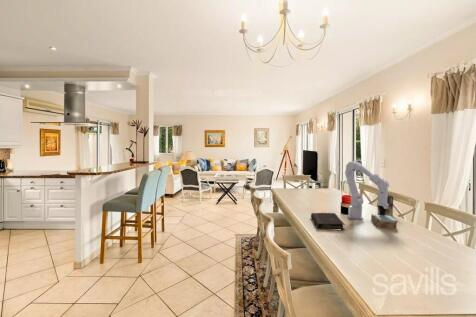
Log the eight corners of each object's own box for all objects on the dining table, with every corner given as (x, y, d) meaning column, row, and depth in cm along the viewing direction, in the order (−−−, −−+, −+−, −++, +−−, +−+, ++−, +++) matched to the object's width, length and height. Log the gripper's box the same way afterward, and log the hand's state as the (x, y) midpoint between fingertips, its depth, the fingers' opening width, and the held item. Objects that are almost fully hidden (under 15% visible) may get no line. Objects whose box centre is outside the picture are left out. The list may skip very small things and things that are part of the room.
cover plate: (379, 221, 165) (379, 219, 165) (374, 216, 176) (374, 214, 176) (396, 222, 163) (396, 220, 163) (390, 217, 173) (390, 215, 173)
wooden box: (376, 226, 168) (376, 219, 167) (371, 220, 180) (371, 214, 180) (396, 228, 165) (396, 220, 164) (389, 222, 177) (390, 215, 177)
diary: (317, 230, 163) (317, 222, 162) (310, 218, 187) (310, 212, 187) (346, 231, 160) (346, 223, 160) (335, 219, 185) (335, 213, 185)
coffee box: (388, 213, 199) (389, 194, 198) (392, 216, 192) (393, 196, 192) (377, 213, 200) (377, 194, 199) (380, 215, 193) (381, 196, 192)
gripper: (392, 200, 167) (391, 219, 167) (385, 196, 181) (384, 213, 181) (381, 199, 168) (380, 218, 169) (375, 195, 182) (374, 213, 183)
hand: (382, 216), depth 175 cm, fingers closed
